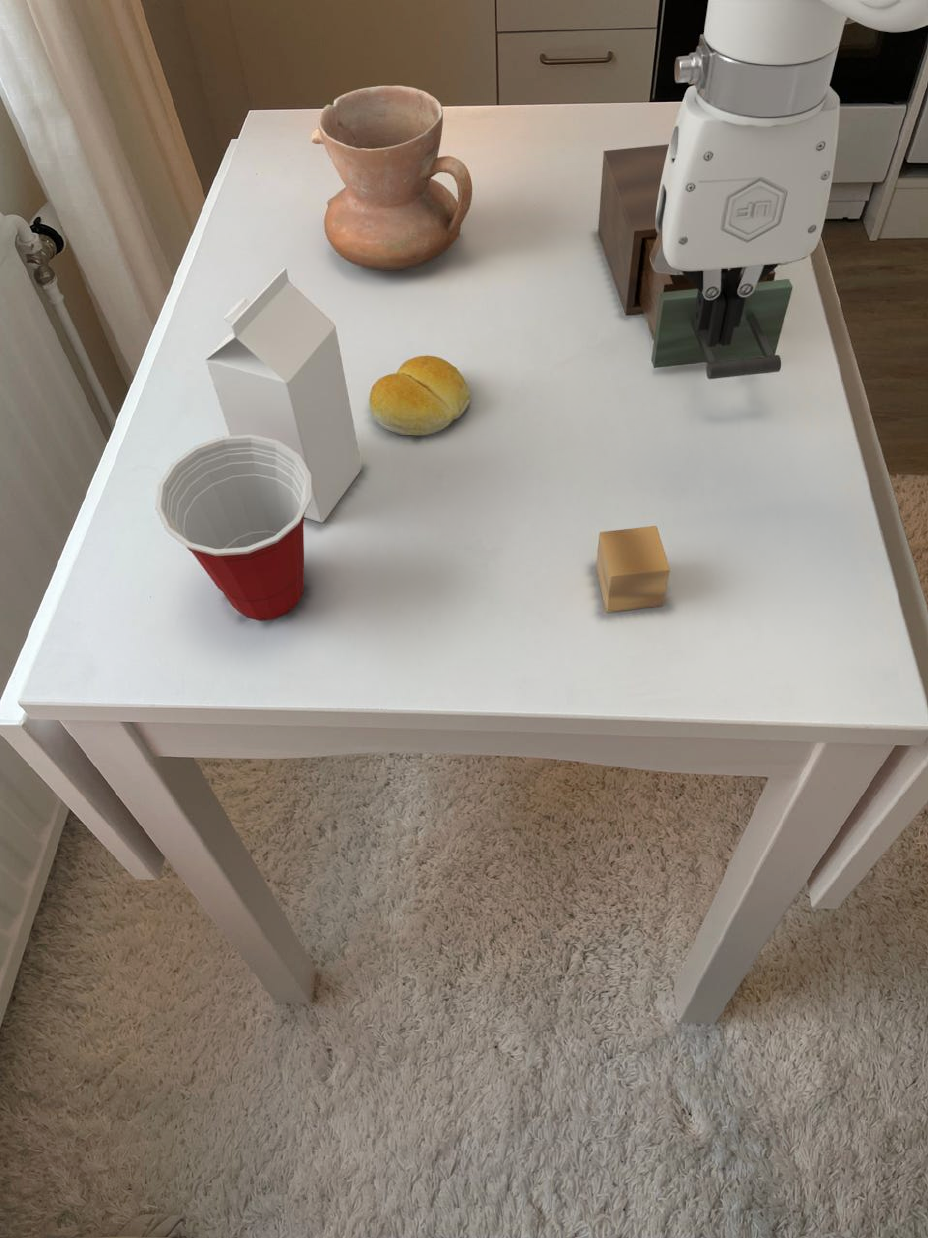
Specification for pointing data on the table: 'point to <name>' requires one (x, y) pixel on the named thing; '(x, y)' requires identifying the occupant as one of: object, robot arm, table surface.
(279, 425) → the milk carton
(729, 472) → the table surface
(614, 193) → the cabinet
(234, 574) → the plastic cup
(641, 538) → the block
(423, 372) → the bread roll
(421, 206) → the ceramic jug
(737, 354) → the drawer
